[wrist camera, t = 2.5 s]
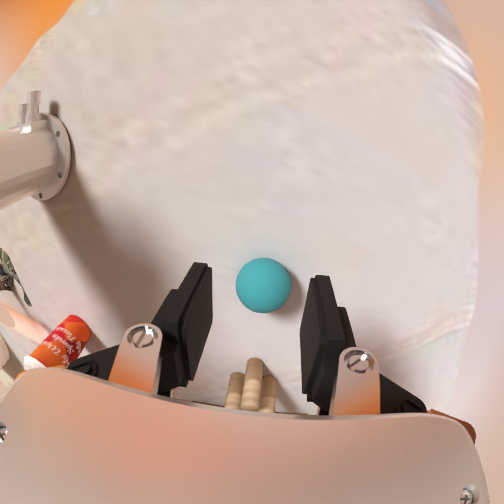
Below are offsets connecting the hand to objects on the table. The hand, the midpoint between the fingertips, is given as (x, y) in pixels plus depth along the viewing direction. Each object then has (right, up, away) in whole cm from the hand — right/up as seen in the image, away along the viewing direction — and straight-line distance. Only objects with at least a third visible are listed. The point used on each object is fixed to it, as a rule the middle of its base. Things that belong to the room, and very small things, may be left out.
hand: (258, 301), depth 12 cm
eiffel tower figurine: (-51, -3, +29) cm, 59 cm away
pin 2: (+2, -19, +30) cm, 35 cm away
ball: (+1, -2, +19) cm, 19 cm away
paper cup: (-32, -11, +31) cm, 45 cm away
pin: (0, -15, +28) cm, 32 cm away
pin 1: (-2, -18, +30) cm, 35 cm away
